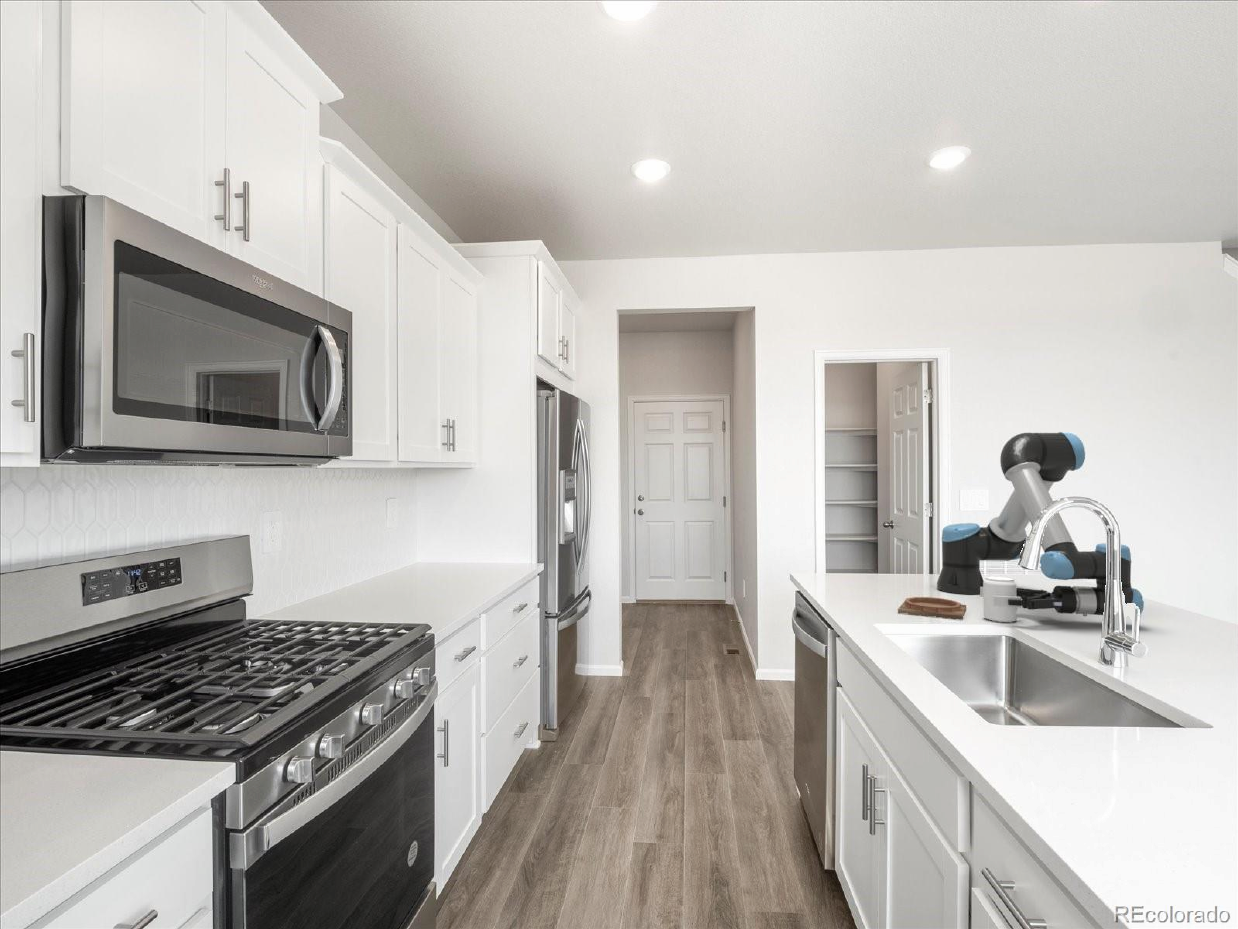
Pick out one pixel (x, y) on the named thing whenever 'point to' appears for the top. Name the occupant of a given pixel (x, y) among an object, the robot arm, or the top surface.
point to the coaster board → (933, 607)
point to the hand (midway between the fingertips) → (986, 596)
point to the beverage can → (998, 588)
